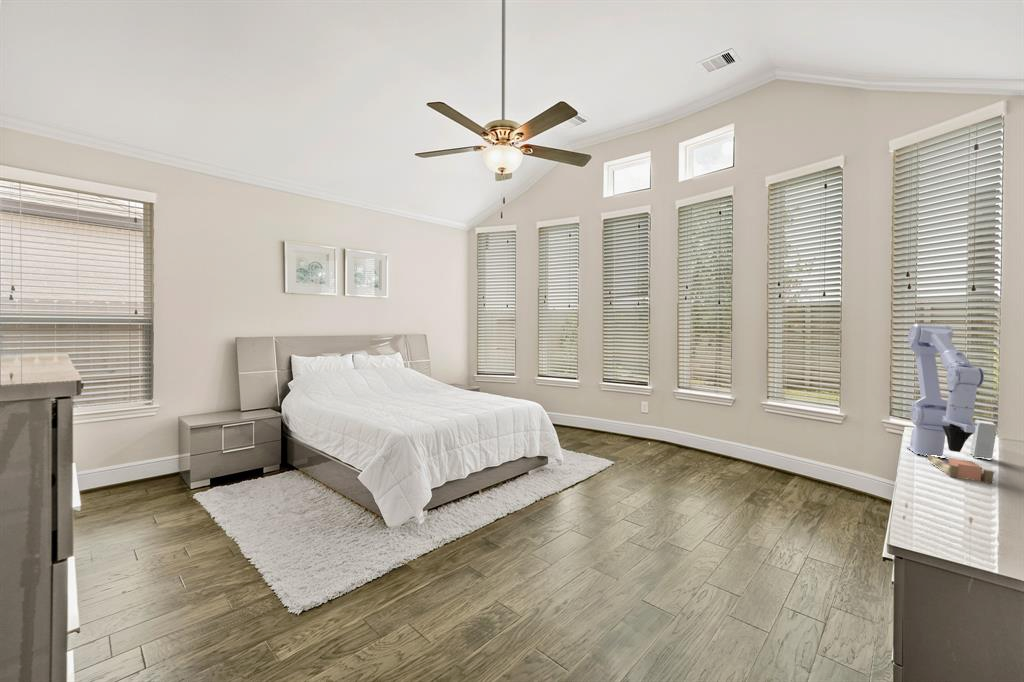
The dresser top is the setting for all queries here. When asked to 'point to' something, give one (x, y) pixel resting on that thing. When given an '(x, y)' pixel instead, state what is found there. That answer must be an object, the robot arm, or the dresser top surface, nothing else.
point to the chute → (953, 469)
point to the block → (967, 469)
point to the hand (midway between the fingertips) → (954, 450)
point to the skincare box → (983, 439)
